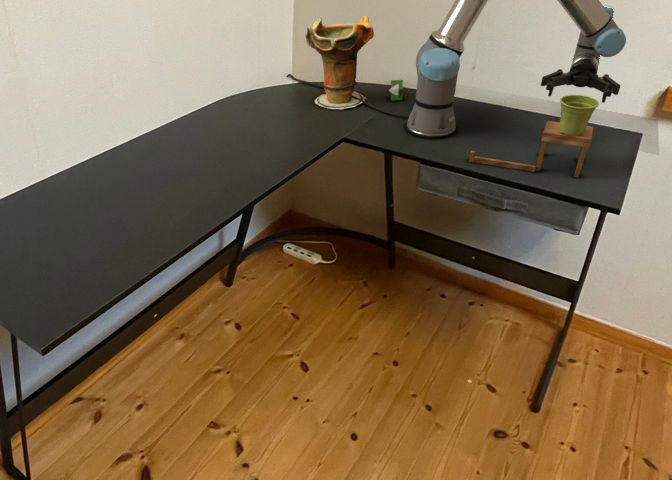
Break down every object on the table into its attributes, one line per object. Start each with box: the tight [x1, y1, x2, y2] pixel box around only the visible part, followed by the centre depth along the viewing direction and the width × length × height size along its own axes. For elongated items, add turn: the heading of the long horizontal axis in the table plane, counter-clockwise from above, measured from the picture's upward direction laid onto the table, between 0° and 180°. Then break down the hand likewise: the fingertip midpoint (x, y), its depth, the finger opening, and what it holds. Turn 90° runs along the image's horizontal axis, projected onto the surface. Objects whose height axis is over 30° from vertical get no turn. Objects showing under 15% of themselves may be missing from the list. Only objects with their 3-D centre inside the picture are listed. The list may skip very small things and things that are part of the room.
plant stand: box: [468, 120, 594, 178], centre depth 169 cm, size 30×13×11 cm, turn 64°
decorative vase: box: [305, 15, 375, 110], centre depth 207 cm, size 21×23×28 cm
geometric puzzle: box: [386, 79, 408, 101], centre depth 213 cm, size 7×7×8 cm
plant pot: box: [559, 94, 600, 136], centre depth 161 cm, size 9×9×9 cm
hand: (577, 94), depth 164 cm, fingers open, 13 cm apart
